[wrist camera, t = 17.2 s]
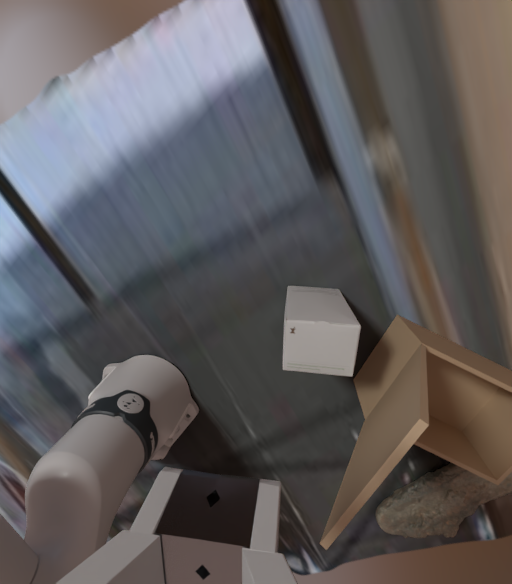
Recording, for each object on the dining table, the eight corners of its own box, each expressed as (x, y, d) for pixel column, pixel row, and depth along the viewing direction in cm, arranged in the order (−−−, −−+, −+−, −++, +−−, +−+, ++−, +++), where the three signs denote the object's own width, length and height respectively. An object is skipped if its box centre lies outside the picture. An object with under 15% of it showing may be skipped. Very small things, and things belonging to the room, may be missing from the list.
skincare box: (284, 321, 50) (278, 372, 35) (287, 282, 48) (282, 318, 34) (337, 326, 49) (353, 380, 34) (342, 286, 47) (362, 325, 33)
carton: (461, 432, 52) (498, 485, 42) (353, 379, 51) (365, 420, 42) (514, 372, 48) (568, 415, 38) (397, 314, 47) (421, 343, 38)
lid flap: (326, 550, 23) (319, 543, 24) (368, 424, 41) (364, 421, 42) (429, 425, 19) (419, 418, 20) (425, 346, 37) (420, 343, 38)
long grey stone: (577, 444, 51) (542, 399, 50) (608, 468, 46) (570, 419, 45) (394, 536, 59) (362, 498, 58) (403, 565, 54) (368, 525, 53)
